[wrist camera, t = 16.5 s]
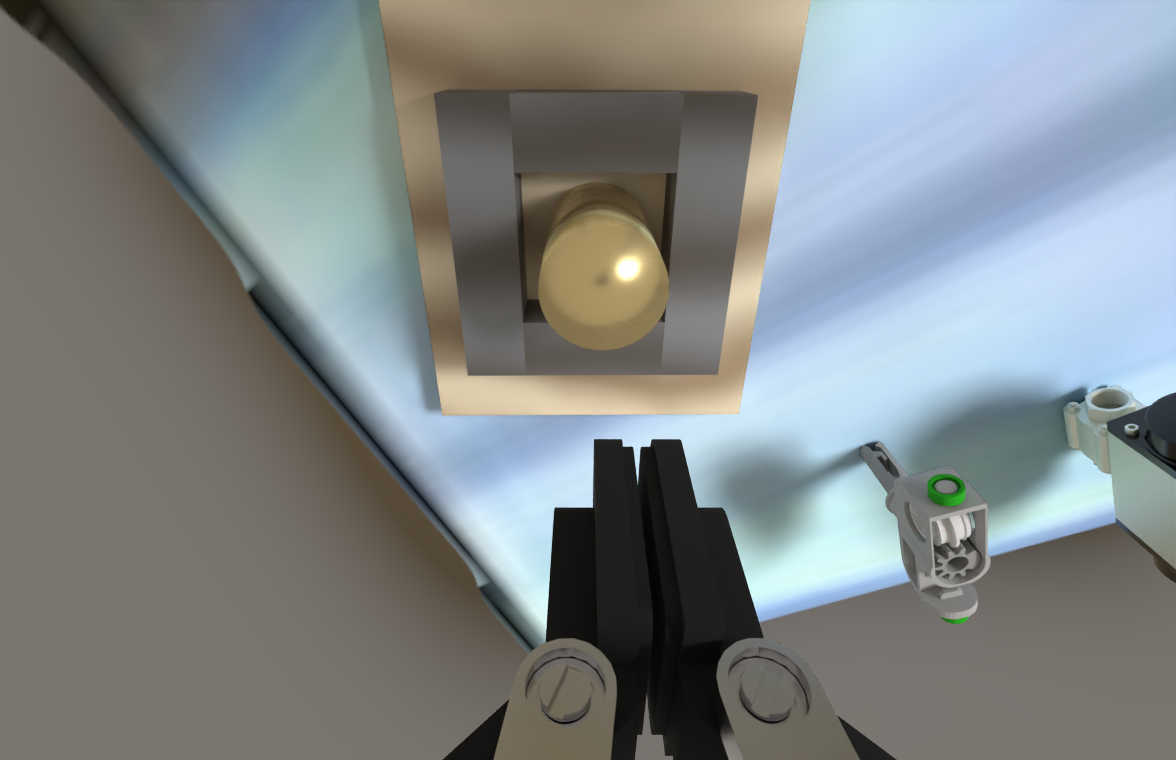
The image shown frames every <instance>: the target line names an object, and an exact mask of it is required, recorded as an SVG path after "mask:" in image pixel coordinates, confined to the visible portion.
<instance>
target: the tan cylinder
mask: <svg viewBox="0 0 1176 760" xmlns="http://www.w3.org/2000/svg"><path fill="white" fill-rule="evenodd" d="M538 295H539V301H540V306H541V309H542V312H543V314H544V316H545V318H546V320H547V321H548V323H549V324H550V326H551V327H552V328H553V329H554V330H555V331H556V332H557V333H558V334H559V335H560V336H561V337H563V338H564V339H566V340H567V341H569V342H571V343H573V344H575V345H577V346H580V347H583V348H587V349H592V350H612V349H618V348H622V347H625V346H627V345H630V344H632V343H634V342H636V341H638V340H639V339H641V338H642V337H644V336H645V335H646V334H647V333H649V332H650V331H651V330H652V329H653V328H654V326H655V325H656V324H657V323H658V321H659V320H660V318H661V316H662V314H663V312H664V310H665V308H666V305H667V301H668V296H669V278H668V273H667V269H666V267H665V264H664V262H663V259H662V257H661V254H660V252H659V250H658V247H657V245H656V242H655V240H654V238H653V235H652V233H651V230H650V228H649V226H648V223H647V221H646V218H645V216H644V214H643V211H642V209H641V207H640V205H639V204H638V203H637V201H636V200H635V199H634V198H633V197H632V195H631V194H629V193H628V192H627V191H626V190H624V189H622V188H620V187H618V186H616V185H614V184H610V183H605V182H590V183H585V184H582V185H579V186H577V187H575V188H573V189H571V190H570V191H568V192H567V193H566V194H565V195H563V196H562V197H561V199H560V200H559V201H558V202H557V204H556V205H555V207H554V209H553V210H552V213H551V215H550V218H549V223H548V228H547V234H546V240H545V246H544V253H543V259H542V265H541V271H540V277H539V285H538Z"/></svg>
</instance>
